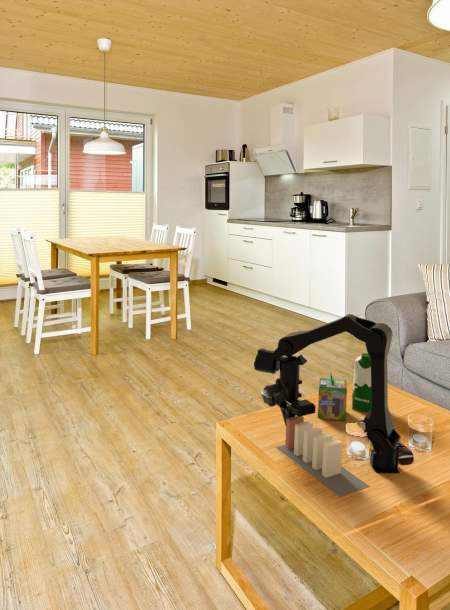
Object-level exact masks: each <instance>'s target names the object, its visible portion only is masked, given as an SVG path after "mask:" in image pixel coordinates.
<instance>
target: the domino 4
mask: <svg viewBox="0 0 450 610" xmlns="http://www.w3.org/2000/svg"><path fill="white" fill-rule="evenodd" d="M332 441H333V435H332V434H330V433H329V432H327V433H322V435H319V436H315V437H314V441H313V459H312V468H313V469H315V470H318V469H321V468H322V464H323V447H324V443H328V442H332Z"/></svg>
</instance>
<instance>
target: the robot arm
mask: <svg viewBox="0 0 450 610" xmlns="http://www.w3.org/2000/svg"><path fill="white" fill-rule="evenodd" d="M346 332H347V333H348V334H350V335H351V336H353V337H354V338H356V339H357V340H359V341H361V342H363V343H365V348H366V353H368V355H369V357H370V360H371V406H372V410H371V411H369V412H368V413H367V412H366V415H365V416H364V418H363V421H364V427H365V428H364V430H363V433H366V438H367V439H368V441H369V442H370V443H371V445H372V449H370V458H369V464H370V467H372V469H373V471H374V472H375V473H376V474H397V475H398V474H400V473H401V472H400V469H399V460H400V448H399V446H398V444H400V443H399V442H400V440H401V439H402V437H401V435H400V434H399V433H398V431H397V430H396V429H395V428H394V423H393V418H392V415H391V412H390V410H389V403H388V402H389V401H388V399H389V397H388V392H389V391H388V389H389V388H388V384H389V383H388V357H389V352H390V348H391V345H392V344H391V343H392V338H393V330H392V328H391V327H390V326H389V325H388V324H387V323H383V322H378V323H377V322H375V321H373V320H369V319H366V318H362V317H358V316H357V315H354V314H352V313H351V314H349V313H347V314H346V315H345V316H343V317H341V318H338V319H335V320H333V321H330V322H327V323H324V324H322V325H320V326H317V327H314V328H311V329H309V330H301V331H300V330H299V331H294V332H289V333H288V334H286V335H285V336H283V337H281V338H279V340H278V342H277V348H276V349H275V350H270V349H266V348H259V349H257V354H256V356H255V359H254V361H253V366H254V367H253V368H254V370H255V372H262V373H267V374H272V375H273V374H274V375H275V374H276V372H279V377H278V378H276V380H275V383H272V384H268V385H265V386H264V388H263V390H262V391H261V392H260V393H261V397H262V401H263V403H264V404H266V405H268V406H269V407H270V408H272V407H275V406H277V407H279V409H280V412H281V414H282V419H283V422H284V425H285V426H286V419H287V418H291V417H296V416H300V417H301V416H302V417H304V416H309V415H313V414H316V408H317V407H316V405H315V404H314V402H312V401H310V400H308V399H300V398H302V396H303V395H302V393H301V392H300V391H299V389H300V385H302V384H303V380H302V379H300V369H301V368H300V367H301V366H304V365H305V364H306V363H307V362H308V360H307V359H306V358H305V357H304V356H303V354H300V355H298V356H296V355H295V354H297V353H299V352H301V351H302V350H304V349H306V348H307V347H309V346H310V345H313V344H315V343H318V342H322V341H324V340H326V339H329V338H332V337H334V336H338V335H340V334H343V333H346Z"/></svg>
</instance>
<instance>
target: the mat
mask: <svg viewBox="0 0 450 610" xmlns="http://www.w3.org/2000/svg"><path fill="white" fill-rule="evenodd" d="M275 447H276V449H278V451H280V452H281V453H283V454H284V455H285V456H286V457H288V459H290V460H291V461H292V462H293V463H295V464H296V465H298V466H299V467H301V468H302V469H303V470H304V471H306V472H307V473H308V474H309V475H311V476H312V477H314V479H316V480H317V481H318V482H320V483H321V484H322V485H324V486H325V487H326V488H327V489H328V490H330V491H332V492H333V493H334V494H335V495H337V496H338V497H339V498H342V497H343V496H347V495H349V494H353V493H356V492H358V491H362V490H364V489H368V488H370V487H371V486H370V485H369V484H368V483H366V482H364V481H363V480H362V479H360V478H359V477H358V476H356V475H355V474H353V473H352V472H350V471H349V470H347V469H346V468H344V467H343V466H342V465H341V473H339V474H336V475H333V476H330V477H327V478H325V477H324V476H323V475H322V468H321V469H318V470H315V469H313V468H312V461H311V462H308V463H306V462H304V461H303V455H299V456H296V455H295V454H294V448H292V449H289V450H288V449H287V448H286V447H285V444H283V445H279V446H275Z"/></svg>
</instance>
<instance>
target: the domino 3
mask: <svg viewBox="0 0 450 610" xmlns="http://www.w3.org/2000/svg"><path fill="white" fill-rule="evenodd" d="M319 435H323V429H322V428H321V427H319V426H317V427H313V428H312V429H308V430H304V444H303V461H304V462H306V463H308V462H311V461H312V459H313V441H314V437H315V436H319Z"/></svg>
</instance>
